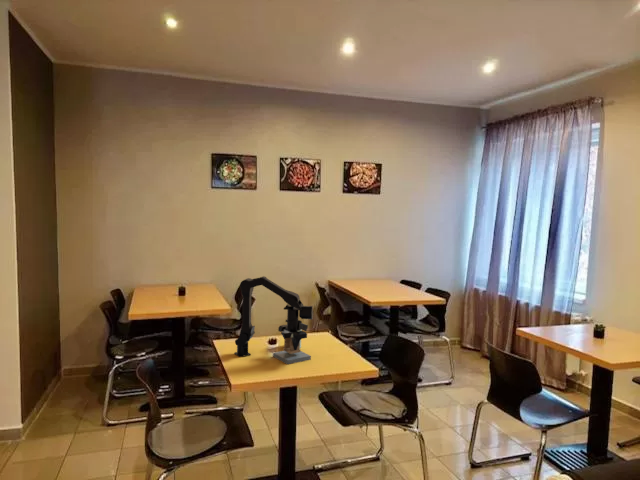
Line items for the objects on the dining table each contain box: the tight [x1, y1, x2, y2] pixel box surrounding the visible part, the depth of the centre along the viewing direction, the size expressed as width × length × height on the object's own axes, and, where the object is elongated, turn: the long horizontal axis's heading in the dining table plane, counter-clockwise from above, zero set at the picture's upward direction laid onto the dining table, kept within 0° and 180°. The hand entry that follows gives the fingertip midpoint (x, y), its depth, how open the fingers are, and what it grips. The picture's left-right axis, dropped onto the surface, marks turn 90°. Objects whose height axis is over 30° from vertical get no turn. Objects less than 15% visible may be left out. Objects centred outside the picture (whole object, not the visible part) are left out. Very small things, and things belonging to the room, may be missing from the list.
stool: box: [282, 337, 301, 354], centre depth 233 cm, size 7×6×6 cm
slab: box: [272, 350, 312, 365], centre depth 233 cm, size 14×14×2 cm
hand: (291, 348), depth 233 cm, fingers closed on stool, 6 cm apart
